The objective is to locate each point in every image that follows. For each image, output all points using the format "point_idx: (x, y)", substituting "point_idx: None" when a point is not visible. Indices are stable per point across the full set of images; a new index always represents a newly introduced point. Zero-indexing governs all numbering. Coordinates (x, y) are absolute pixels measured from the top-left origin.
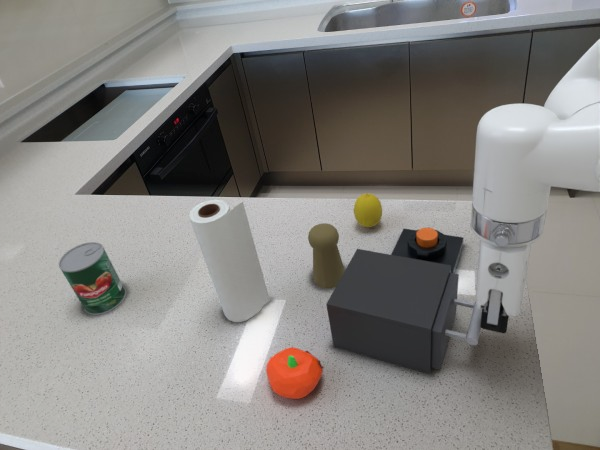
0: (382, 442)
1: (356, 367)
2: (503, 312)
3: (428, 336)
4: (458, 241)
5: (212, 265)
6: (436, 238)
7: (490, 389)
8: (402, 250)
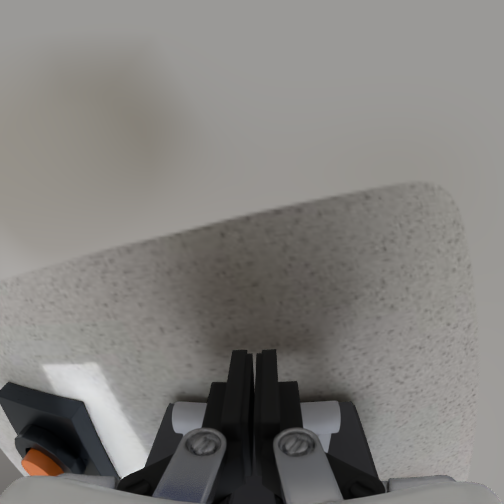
0: (474, 407)
1: None
2: (375, 489)
3: None
4: (7, 403)
5: None
6: (35, 461)
7: (362, 298)
8: None
